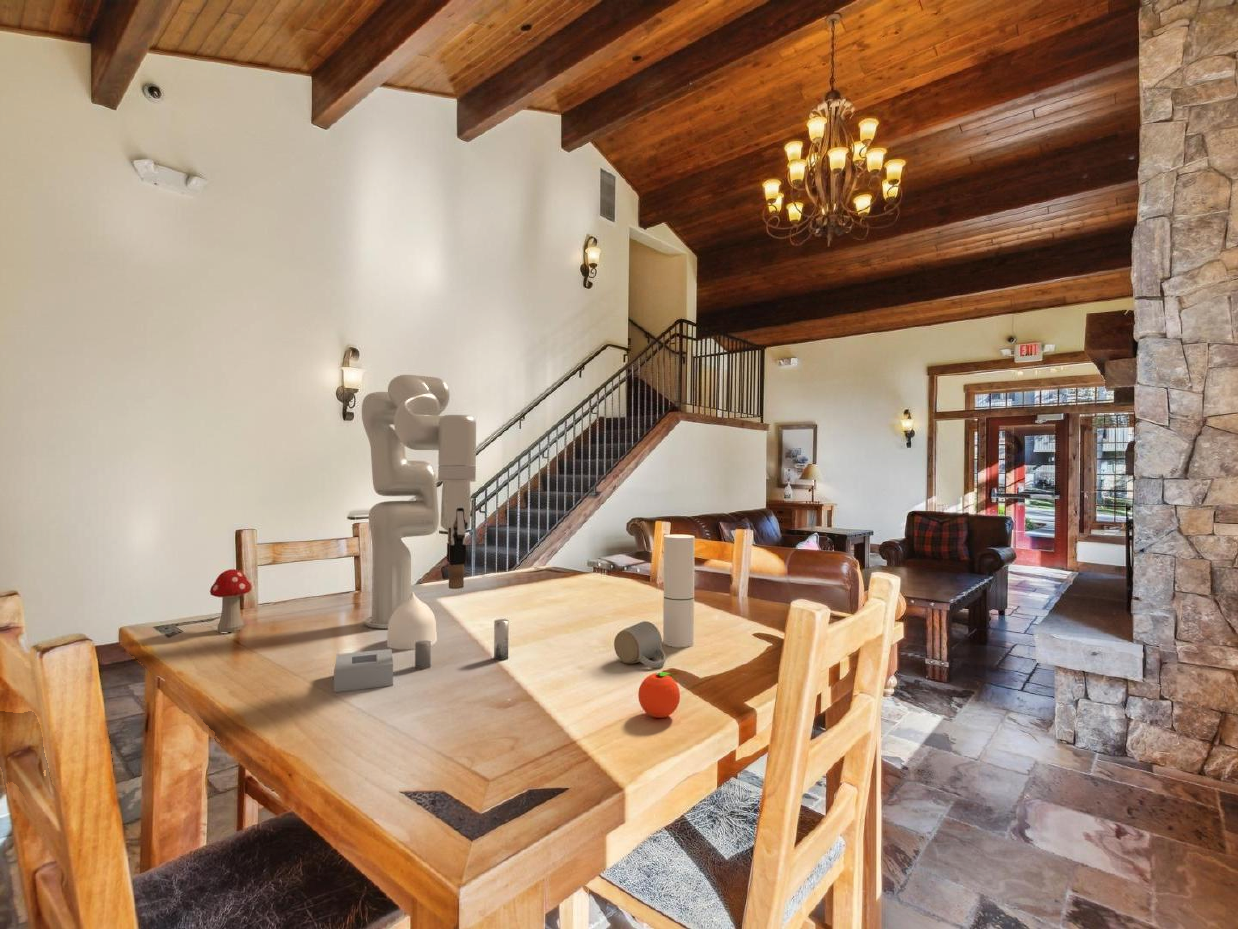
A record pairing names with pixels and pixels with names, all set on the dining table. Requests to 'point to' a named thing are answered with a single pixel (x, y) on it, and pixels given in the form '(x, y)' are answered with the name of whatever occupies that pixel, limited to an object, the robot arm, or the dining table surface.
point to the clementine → (659, 695)
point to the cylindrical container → (678, 590)
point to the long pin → (455, 571)
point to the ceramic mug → (640, 644)
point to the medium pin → (501, 639)
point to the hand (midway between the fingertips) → (456, 562)
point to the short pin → (423, 654)
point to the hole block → (363, 670)
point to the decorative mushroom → (230, 598)
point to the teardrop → (411, 625)
